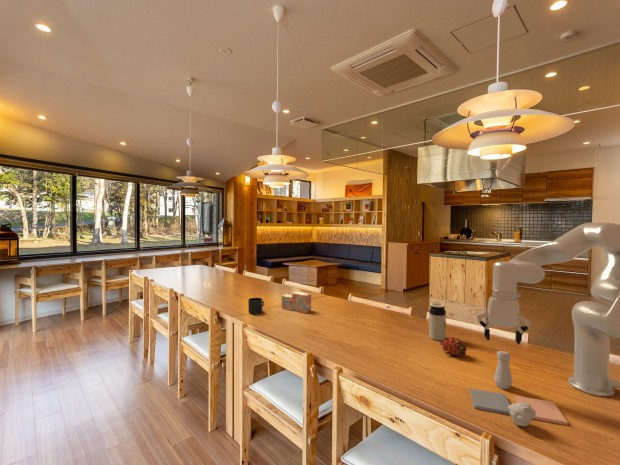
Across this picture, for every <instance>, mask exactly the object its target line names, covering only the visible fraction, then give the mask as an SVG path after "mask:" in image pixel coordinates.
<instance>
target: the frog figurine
mask: <svg viewBox="0 0 620 465" xmlns="http://www.w3.org/2000/svg"><path fill="white" fill-rule="evenodd" d="M508 408H509V409H510V411H509V412H510V415H509V416H510V418H511V420H512V421H513V423H514V424H516V425H518V426H519V427H527V426H529V425H530V423H531V420H534V419H533V418H534V417H535V415H536V414H535V413H536V411H535V410H534V409H533V408H531V405H530V404H529V403H523V402H521V403H517V402H515V403H512V404H510V405H509V406H508Z"/></svg>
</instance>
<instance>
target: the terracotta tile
mask: <svg viewBox="0 0 620 465" xmlns="http://www.w3.org/2000/svg"><path fill="white" fill-rule="evenodd" d="M514 400H515V402H516V403H521V402H523V403H529V404H530V405H531V408H533V409H534V410H535V411H536V413H535V414H536V415H535V417H534V418H533V419H532V420H536V421H542V422H547V423H551V424H552V423H553V424H556V425H564V426H569V421H568V420H567V419H566V417H565V416H564V414H563V413H562V412H561V410H560V408H558V406H557V405H556V403H555V402H554V401H550V400H543V399H537V398H532V397H525V396H520V395H519V396H518V395H515V396H514Z"/></svg>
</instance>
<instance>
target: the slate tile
mask: <svg viewBox="0 0 620 465" xmlns="http://www.w3.org/2000/svg"><path fill="white" fill-rule="evenodd" d="M469 392H470V397H471V400H472V403H473V407H474V409H475V410H479V411H481V410H482V411H487V412H491V413H498V414H504V415H509V416H510V412H509V411H510V409H509V408H508V406H509V405H511V404H510V402H509V399H508V398H507V395H506V394H505V393H499V392H494V391H489V390H482V389H475V388H469Z"/></svg>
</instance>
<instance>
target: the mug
mask: <svg viewBox="0 0 620 465" xmlns="http://www.w3.org/2000/svg"><path fill="white" fill-rule="evenodd" d="M247 302H248V314H250V315H258V314H262V313H263V307H264V306H265V302H264V300H263V298H261V297H251V298H249V299H248V300H247Z"/></svg>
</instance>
